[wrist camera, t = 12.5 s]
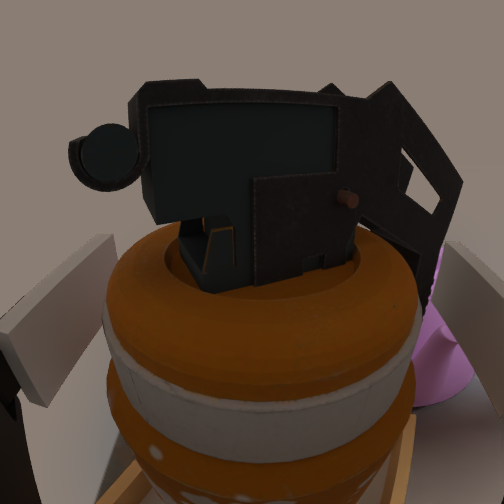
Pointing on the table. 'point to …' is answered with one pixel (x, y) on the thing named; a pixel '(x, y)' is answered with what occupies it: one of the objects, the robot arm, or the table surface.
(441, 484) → the table surface
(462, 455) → the table surface
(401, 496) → the orange-rimmed open box
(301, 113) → the canister
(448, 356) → the teapot
